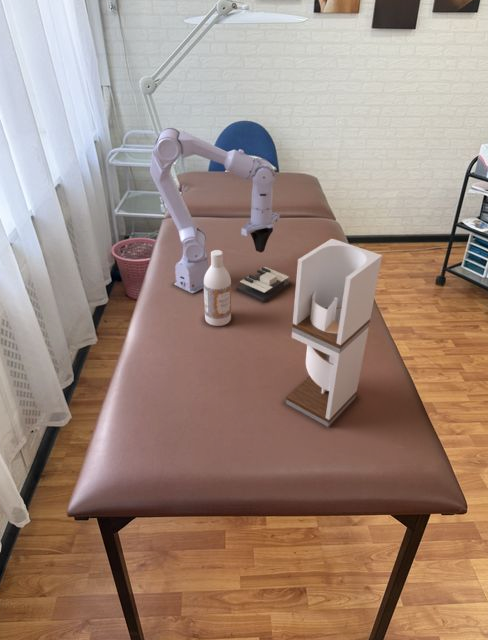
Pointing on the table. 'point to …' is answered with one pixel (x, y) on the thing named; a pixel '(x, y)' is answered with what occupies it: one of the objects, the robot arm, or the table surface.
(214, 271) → the bath foam
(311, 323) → the white tower
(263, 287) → the piano keys trim
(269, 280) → the square cream block
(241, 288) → the toy piano
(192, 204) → the table surface
